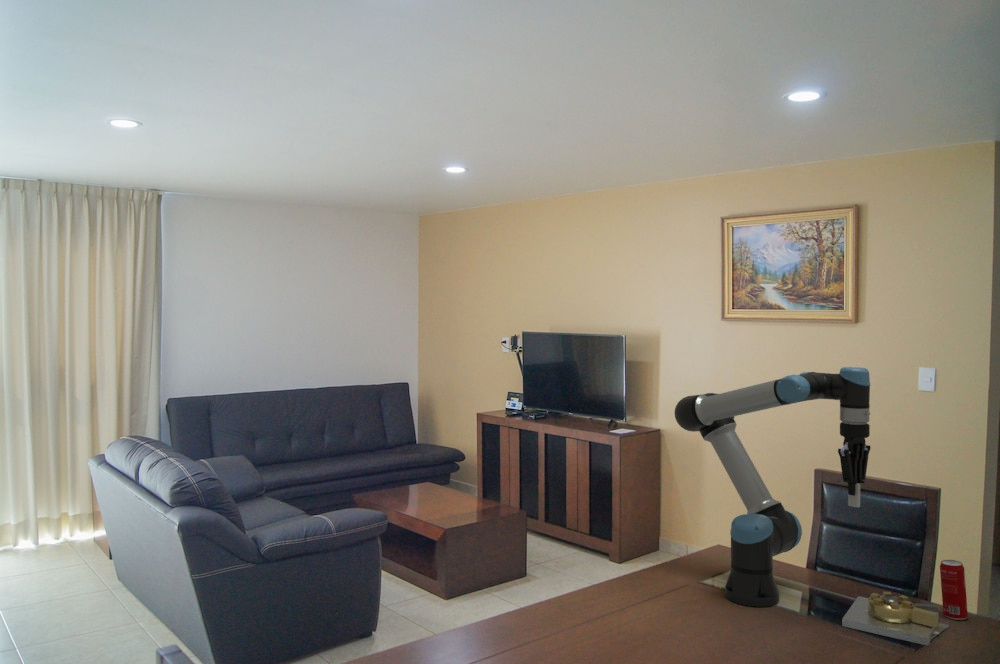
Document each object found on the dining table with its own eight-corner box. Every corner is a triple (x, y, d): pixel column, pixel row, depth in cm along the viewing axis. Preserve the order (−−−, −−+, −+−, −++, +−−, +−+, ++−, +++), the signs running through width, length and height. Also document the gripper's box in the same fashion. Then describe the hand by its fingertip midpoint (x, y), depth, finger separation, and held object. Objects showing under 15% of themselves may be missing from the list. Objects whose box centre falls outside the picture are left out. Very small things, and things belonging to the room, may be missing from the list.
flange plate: (842, 626, 195) (842, 605, 195) (858, 603, 211) (858, 584, 211) (930, 646, 182) (930, 624, 182) (940, 620, 198) (940, 600, 198)
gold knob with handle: (861, 614, 197) (861, 598, 197) (876, 603, 204) (876, 587, 204) (930, 632, 185) (930, 615, 185) (943, 620, 192) (943, 603, 192)
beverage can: (971, 621, 197) (971, 566, 197) (944, 619, 198) (945, 564, 198) (962, 613, 203) (962, 559, 203) (936, 611, 204) (936, 558, 204)
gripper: (854, 426, 198) (854, 512, 199) (880, 422, 206) (879, 505, 206) (828, 422, 204) (828, 506, 205) (854, 419, 212) (853, 500, 212)
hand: (854, 506), depth 205 cm, fingers closed
